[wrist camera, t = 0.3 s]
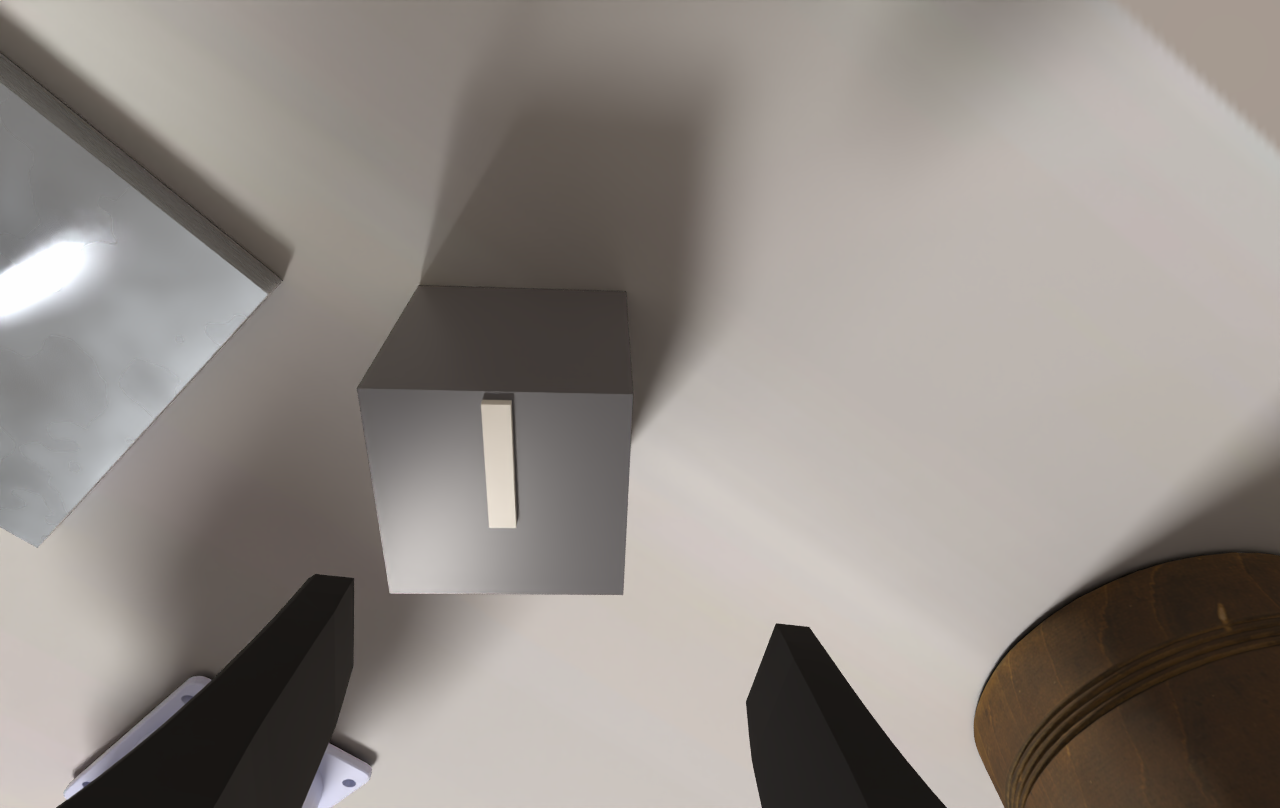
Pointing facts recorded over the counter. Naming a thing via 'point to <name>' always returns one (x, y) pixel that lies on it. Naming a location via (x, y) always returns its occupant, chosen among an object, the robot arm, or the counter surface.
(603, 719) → the counter surface
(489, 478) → the grey cube with stripe
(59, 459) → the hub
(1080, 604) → the wooden container
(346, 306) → the counter surface
